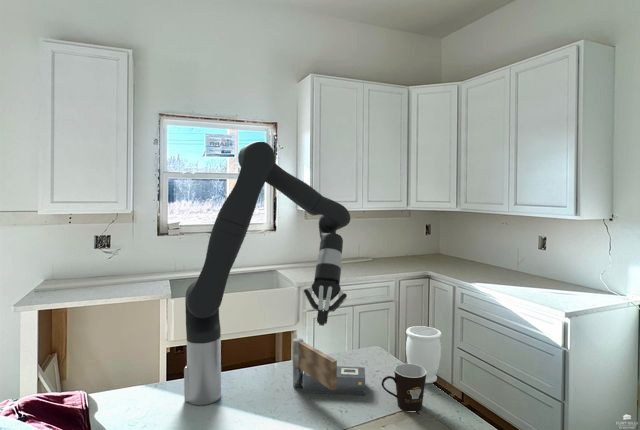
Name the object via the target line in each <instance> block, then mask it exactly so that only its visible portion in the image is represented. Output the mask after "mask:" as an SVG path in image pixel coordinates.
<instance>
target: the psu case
mask: <svg viewBox="0 0 640 430" xmlns="http://www.w3.org/2000/svg"><path fill="white" fill-rule="evenodd" d="M302 392H303V393H315V394H332V395H333V394H335V395H336V394H337V395H355V396H356V395H357V396H365V395H366V366H365V367H361V366H344V365H343V366H339V365H337V389H336V390H333V391H332V390H330V389H329V388H327V387H326V386H324V385H323V384H321V383H320V382H318V381H317V380H316V379H314V378H313V377H311V376H310V375H308V374H307V373H305V372H304V371H303V387H302Z"/></svg>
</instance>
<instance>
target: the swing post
mask: <svg viewBox="0 0 640 430" xmlns="http://www.w3.org/2000/svg"><path fill="white" fill-rule="evenodd" d="M303 374H304V371H302V370H301V369H299V368H295V367H293V366H292V387H293V388H295V389H301V388H302V389H303Z"/></svg>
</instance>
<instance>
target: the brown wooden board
mask: <svg viewBox="0 0 640 430" xmlns="http://www.w3.org/2000/svg"><path fill="white" fill-rule="evenodd" d="M337 366H338V361H337V360H336V359H335V358H333V357H331V356H329V355H327V354H326V353H324V352H323V351H321V350H319V349H318V348H316V347H313V346H311V345H310V344H308V343H306V342H305V341H304V338H303V339H302V338H293V339H292V368H293V367H295V368H299V369H301V370H302V371H303V373H304V372H305V373H307V374H308V375H310V376H311V377H313V378H314V379H316V380H317V381H318V382H320V383H321V384H323V385H324V386H326V387H327V388H329V389H330V390H332V391H333V390H336V389H337Z"/></svg>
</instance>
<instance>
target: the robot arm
mask: <svg viewBox="0 0 640 430" xmlns="http://www.w3.org/2000/svg"><path fill="white" fill-rule="evenodd" d="M237 160H238V163H239V166H240V170H239V173H238V176H237V180H236V182H235V183H234V186H233V188H232V189H231V191H230V192H229V194H228V195H227V197H226V198H225V200H224V202H223V204H222V205H221V206H220V207H221V208H220V209H219V212H218V213H217V216H216V219H215V221H214V224H213V226H212V228H211V229H212V230H211V231H210V236H209V240H208V245H207V248H206V255H205V260H204V263H203V266H202V269H201V271H200V273H199V275H198V277H197V280H195V281H193V282H191V284H189V286H188V287H187V289H186V291H185V297H184V298H185V299H184V300H185V304H184V305H185V331H186V365H185V367H184V368H183V375H184V376H183V381H184V383H183V388H184V389H183V391H184V392H183V393H184V394H183V395H184V396H183V397H184V402H187V403H189V404H191V405H194V406H205V405H209V404H213V403H215V402H217V401H219V400H220V398H221V397H222V363H221V362H222V354H221V353H222V352H221V350H222V344H221V343H222V340H221V338H222V335H221V334H222V333H221V331H222V330H221V322H220V307H221V304H222V302H223V297H224V293H225V290H226V286H227V282H228V279H229V275H230V272H231V270H232V267H233V265H234V263H235V261H236V259H237V256H238V255H239V252H240V249H241V248H242V245H243V243H244V241H245V238H246V235H247V233H248V230H249V228H250V227H249V226H250V223H251V222H252V218H253V216H254V212H255V209H256V206H257V203H258V200H259V197H260V195H261V191H262V189H263V188H264V187H263V186H264V185H265V183H267V184H268V185H269V186H272V187H273V188H274V189H275V190H277V191H279V192H280V193H281V194H283V195H284V196H286V197H287V198H288V199H289V200H290V201H292V202H293V203H294V204H296V205H297V206H298V207H299V208H301V209H302V210H303V211H305V212H306V213H308V214H309V215H311V216H319V220H318V230H319V238H320V242H319V249H318V250H319V251H318V255H317V257H316V258H317V259H316V266H315V272H314V281H313V283H312V284H311V287H309V288H305V289H304V290H303V293H304V296H305V297H306V300H307V301H308V302H309V304H310V306H311V308H312V309H313V310H314V311H317V316H316V323H317V324H318V326H323V327H324V326H325V325H327V324H328V316H329V313H330V312H335V311H336V310H337V309H338V308H339V307H340V306H341V305H342V304H343V303H344V302H345V301H346V300H347V296H348V294H347V293H344V292H343V291H342V290H341V286H340V285H341V284H340V281H341V274H342V267H343V266H342V265H343V264H342V263H343V245H344V239H343V237H342V236H341V235H340V234H338V233H337V231H338V230H341V229H343V228H344V227H346V226H348V225H349V224H350V222H351V213H350V212H349V210H348V209H347V208H346V207H345V206H344V205H343V204H341V203H339V202H337V201H335V200H333V199H331V198H328V197H326V196H323V195H322V194H321V193H319V192H318V191H317V190H316V189H315V188H314V187H312V186H311V185H309V183H306V182H304V181H303V180H302V179H299V178H297V177H296V176H294V175H292V174H290V173H288V171H286V170H284V169H283V168H282V167H280V166H279V165H278V164H277V163H276V162H275V161H276V154H275V151H274V149H273V147H272V146H271V145H270V144H269V143H267V142H266V141H259V140H258V141H254V142H250V143H248V144H246V145H245V146H243V147H242V148H241V149H240V150H239V152H238V156H237ZM313 293H314V294H313ZM313 295H315V297H316V299H318V304H317V302H316V301H315V300H314V298H313ZM336 297H337V300H336V301H334V299H335V298H336ZM324 301H325V303H324ZM331 301H334V302H333V304H331Z"/></svg>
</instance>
